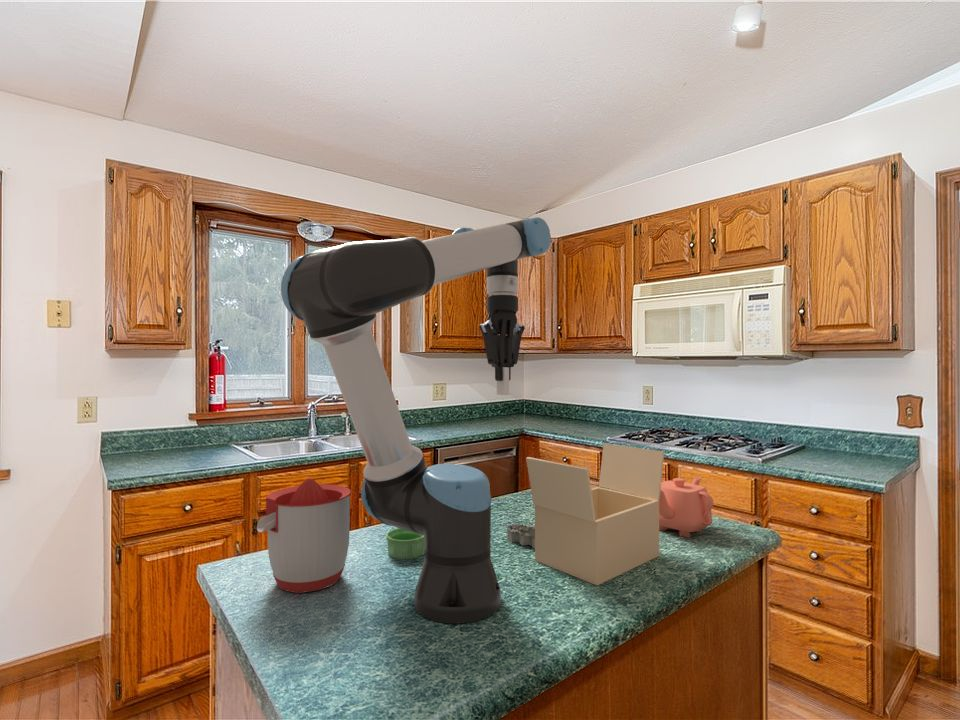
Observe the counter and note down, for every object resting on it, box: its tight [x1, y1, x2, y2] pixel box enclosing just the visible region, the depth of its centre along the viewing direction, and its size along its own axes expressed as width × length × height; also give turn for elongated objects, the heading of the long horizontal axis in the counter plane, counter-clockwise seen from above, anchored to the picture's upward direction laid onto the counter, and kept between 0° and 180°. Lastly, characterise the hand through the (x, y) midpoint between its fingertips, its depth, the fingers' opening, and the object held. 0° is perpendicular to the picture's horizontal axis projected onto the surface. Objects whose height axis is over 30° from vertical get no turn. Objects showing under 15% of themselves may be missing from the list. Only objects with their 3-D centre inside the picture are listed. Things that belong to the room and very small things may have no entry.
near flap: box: [525, 456, 596, 522], centre depth 102 cm, size 10×16×1 cm
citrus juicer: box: [256, 477, 352, 594], centre depth 99 cm, size 16×17×20 cm
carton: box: [534, 486, 660, 586], centre depth 110 cm, size 22×16×12 cm
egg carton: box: [504, 522, 535, 549], centre depth 121 cm, size 11×8×4 cm
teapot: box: [648, 476, 714, 538], centre depth 129 cm, size 15×17×13 cm
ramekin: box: [385, 527, 425, 560], centre depth 114 cm, size 9×9×4 cm
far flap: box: [598, 442, 665, 500], centre depth 118 cm, size 10×16×1 cm
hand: (502, 394), depth 122 cm, fingers closed
